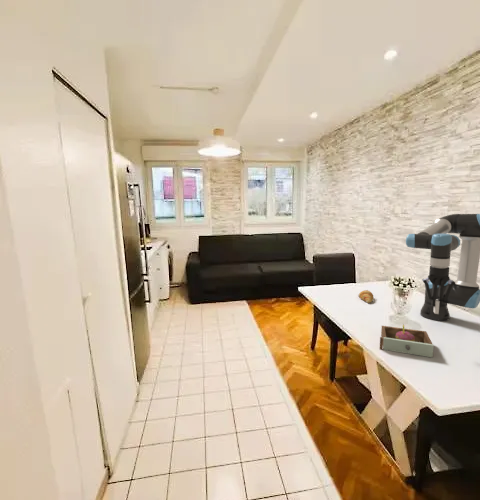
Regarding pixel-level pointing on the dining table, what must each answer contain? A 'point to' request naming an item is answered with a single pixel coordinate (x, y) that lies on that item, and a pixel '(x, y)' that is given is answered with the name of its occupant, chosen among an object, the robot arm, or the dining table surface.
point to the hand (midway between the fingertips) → (435, 312)
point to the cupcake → (405, 335)
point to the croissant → (366, 296)
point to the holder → (391, 331)
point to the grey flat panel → (408, 347)
